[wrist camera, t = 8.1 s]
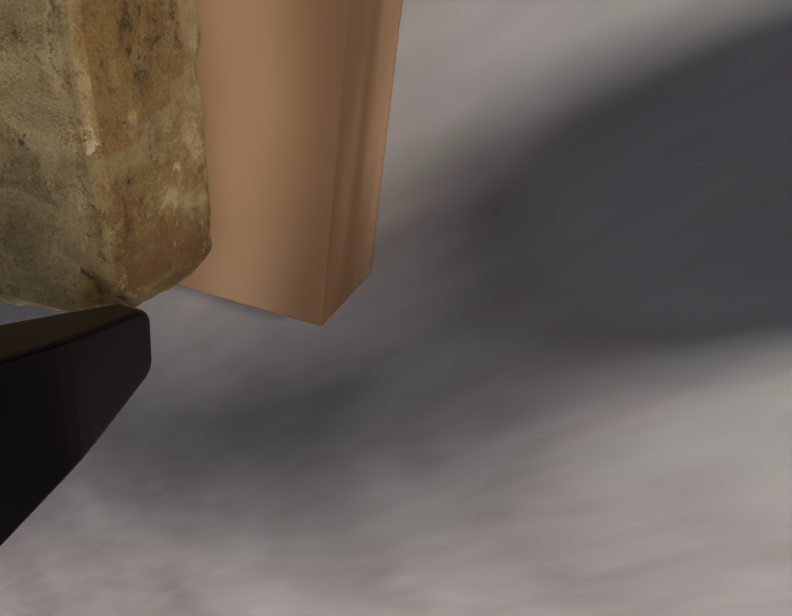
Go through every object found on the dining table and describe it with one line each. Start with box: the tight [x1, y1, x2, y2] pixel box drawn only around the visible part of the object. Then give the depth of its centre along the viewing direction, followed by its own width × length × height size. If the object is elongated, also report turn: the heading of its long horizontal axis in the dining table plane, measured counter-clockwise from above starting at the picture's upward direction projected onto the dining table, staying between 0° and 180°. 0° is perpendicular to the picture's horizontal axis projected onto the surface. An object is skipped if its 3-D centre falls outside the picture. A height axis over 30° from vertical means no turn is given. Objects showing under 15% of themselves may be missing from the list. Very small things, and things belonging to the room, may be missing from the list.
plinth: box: [176, 0, 402, 326], centre depth 20 cm, size 13×13×4 cm
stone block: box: [0, 0, 212, 312], centre depth 16 cm, size 6×12×5 cm, turn 177°
